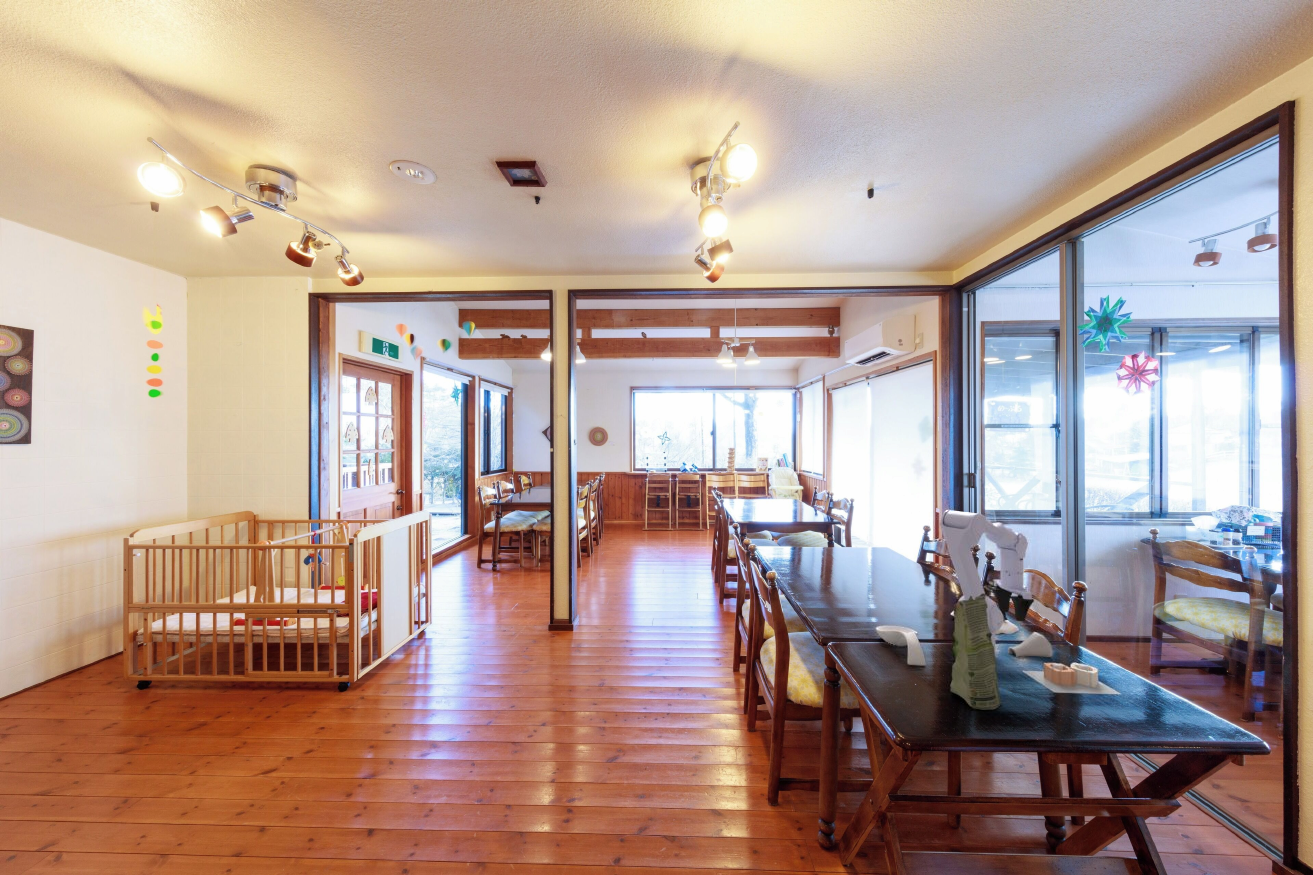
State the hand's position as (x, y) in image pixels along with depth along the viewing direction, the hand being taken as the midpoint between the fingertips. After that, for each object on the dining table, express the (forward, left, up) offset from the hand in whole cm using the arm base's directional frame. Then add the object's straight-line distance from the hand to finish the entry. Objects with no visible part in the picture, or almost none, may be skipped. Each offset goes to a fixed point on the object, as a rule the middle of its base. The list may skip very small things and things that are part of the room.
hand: (1012, 616), depth 154 cm
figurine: (+4, +22, -10) cm, 25 cm away
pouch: (-30, -33, -10) cm, 46 cm away
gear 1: (-3, -24, -9) cm, 25 cm away
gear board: (-1, -24, -10) cm, 26 cm away
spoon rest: (-34, -3, -10) cm, 35 cm away
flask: (+5, -6, -6) cm, 10 cm away
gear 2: (+3, -24, -9) cm, 25 cm away
